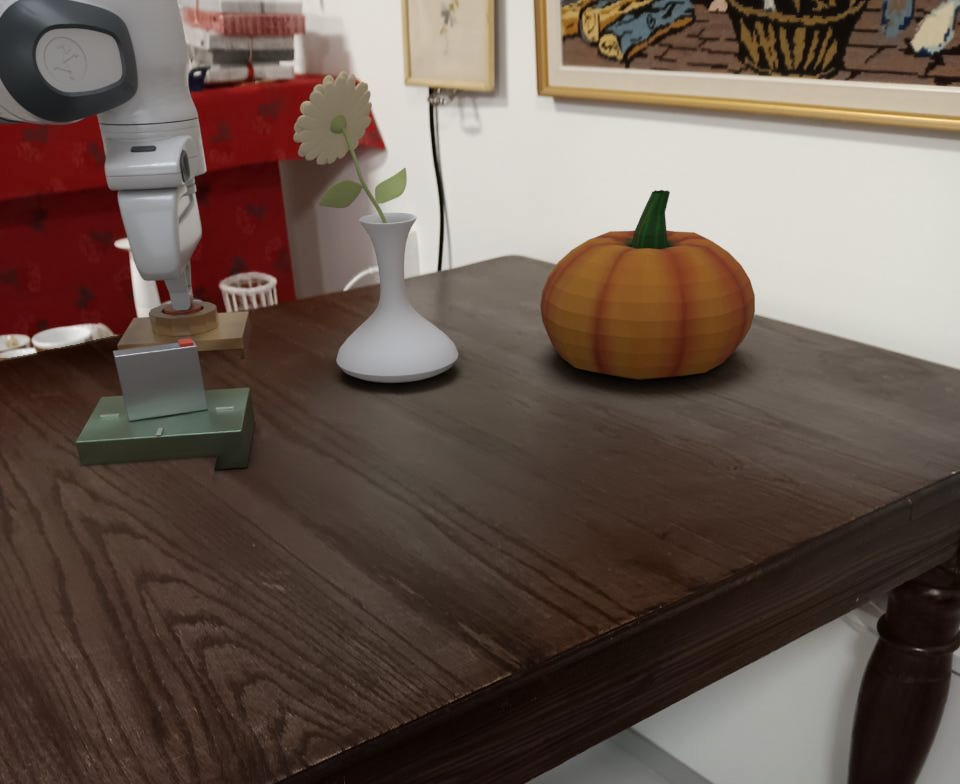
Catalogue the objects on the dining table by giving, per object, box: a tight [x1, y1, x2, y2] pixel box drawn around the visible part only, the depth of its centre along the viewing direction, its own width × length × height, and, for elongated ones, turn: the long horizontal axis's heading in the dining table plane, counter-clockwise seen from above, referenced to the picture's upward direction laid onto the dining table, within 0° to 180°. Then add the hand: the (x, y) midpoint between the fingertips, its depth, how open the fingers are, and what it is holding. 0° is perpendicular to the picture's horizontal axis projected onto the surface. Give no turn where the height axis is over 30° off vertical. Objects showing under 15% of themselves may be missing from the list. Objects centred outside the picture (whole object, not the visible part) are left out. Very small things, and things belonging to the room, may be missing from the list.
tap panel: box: [75, 387, 256, 471], centre depth 78 cm, size 12×10×3 cm
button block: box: [116, 300, 253, 360], centre depth 101 cm, size 12×10×4 cm
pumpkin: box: [540, 189, 756, 381], centre depth 91 cm, size 19×19×15 cm
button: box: [164, 303, 201, 315], centre depth 100 cm, size 4×4×2 cm
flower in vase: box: [292, 70, 459, 384], centre depth 86 cm, size 13×11×25 cm
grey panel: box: [112, 338, 208, 421], centre depth 76 cm, size 6×2×5 cm, turn 112°
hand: (183, 306), depth 100 cm, fingers closed, pressing on button
